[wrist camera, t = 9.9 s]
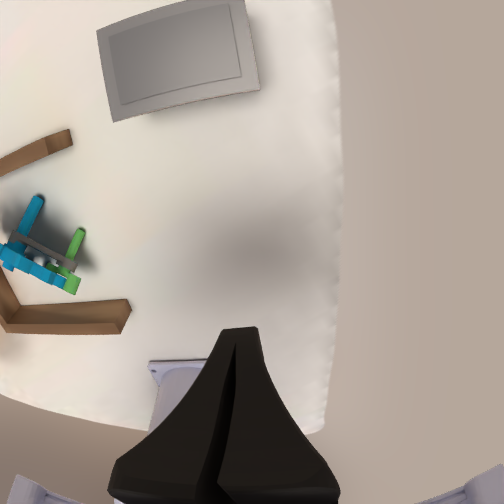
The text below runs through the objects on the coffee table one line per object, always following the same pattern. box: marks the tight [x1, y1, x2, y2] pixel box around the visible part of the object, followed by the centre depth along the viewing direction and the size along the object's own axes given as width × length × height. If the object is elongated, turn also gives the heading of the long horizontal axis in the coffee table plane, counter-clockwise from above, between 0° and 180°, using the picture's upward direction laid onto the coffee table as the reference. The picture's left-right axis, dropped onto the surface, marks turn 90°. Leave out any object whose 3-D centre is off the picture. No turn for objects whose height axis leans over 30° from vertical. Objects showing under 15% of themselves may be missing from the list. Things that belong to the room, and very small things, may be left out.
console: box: [96, 0, 260, 123], centre depth 13 cm, size 5×7×5 cm
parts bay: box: [0, 129, 132, 335], centre depth 20 cm, size 15×15×3 cm
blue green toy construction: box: [0, 196, 85, 295], centre depth 19 cm, size 11×6×10 cm
